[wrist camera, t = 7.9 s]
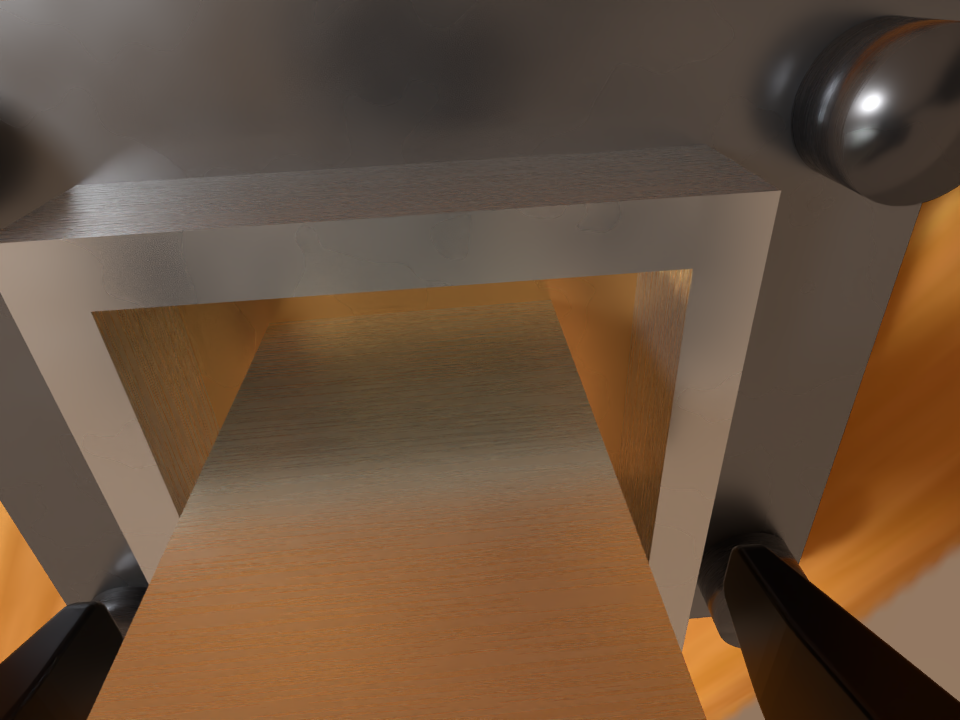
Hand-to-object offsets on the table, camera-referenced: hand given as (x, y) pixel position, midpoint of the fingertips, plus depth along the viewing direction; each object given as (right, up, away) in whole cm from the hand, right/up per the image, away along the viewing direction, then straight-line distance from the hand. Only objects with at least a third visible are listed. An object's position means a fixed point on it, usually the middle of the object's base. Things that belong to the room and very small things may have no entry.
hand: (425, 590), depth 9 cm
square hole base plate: (0, +3, +5) cm, 6 cm away
